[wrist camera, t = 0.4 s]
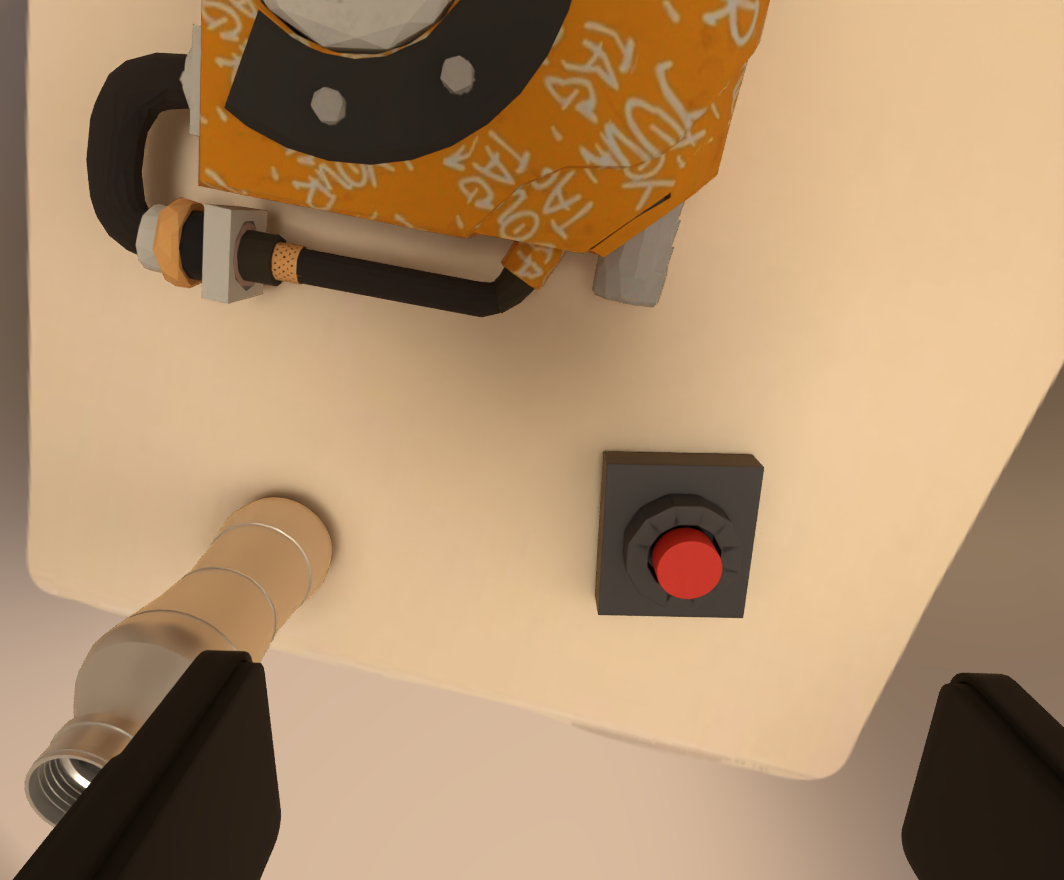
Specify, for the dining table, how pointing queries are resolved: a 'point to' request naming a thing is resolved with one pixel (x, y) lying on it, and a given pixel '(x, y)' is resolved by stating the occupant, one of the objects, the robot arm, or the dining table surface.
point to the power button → (686, 563)
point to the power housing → (666, 504)
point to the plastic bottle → (183, 639)
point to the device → (430, 137)
